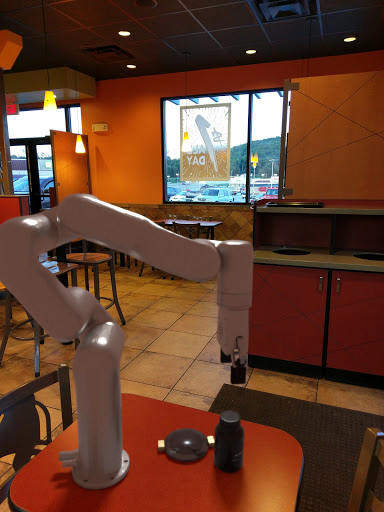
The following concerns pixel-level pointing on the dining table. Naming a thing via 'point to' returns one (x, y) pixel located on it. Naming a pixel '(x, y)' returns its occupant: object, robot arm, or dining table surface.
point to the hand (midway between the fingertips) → (232, 372)
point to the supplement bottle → (229, 442)
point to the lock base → (186, 444)
